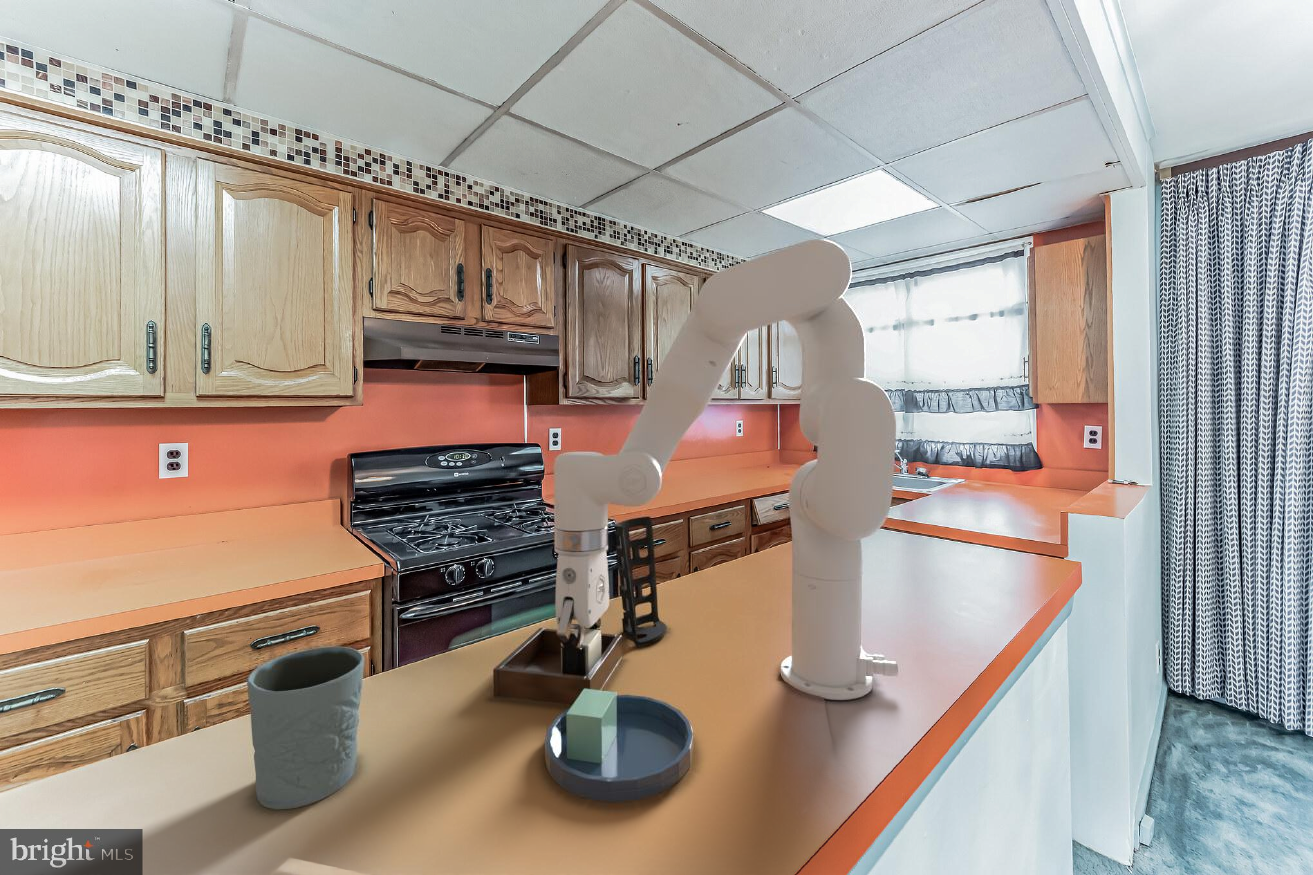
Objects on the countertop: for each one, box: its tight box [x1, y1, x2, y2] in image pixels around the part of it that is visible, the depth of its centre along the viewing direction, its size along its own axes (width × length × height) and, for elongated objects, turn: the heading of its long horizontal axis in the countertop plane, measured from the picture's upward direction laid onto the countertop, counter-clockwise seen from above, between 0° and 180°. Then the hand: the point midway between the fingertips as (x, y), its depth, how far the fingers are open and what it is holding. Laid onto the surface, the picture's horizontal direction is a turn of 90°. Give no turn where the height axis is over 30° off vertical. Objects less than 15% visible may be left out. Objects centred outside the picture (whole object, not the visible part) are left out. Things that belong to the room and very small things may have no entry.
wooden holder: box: [492, 627, 623, 706], centre depth 77 cm, size 14×15×4 cm
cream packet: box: [561, 629, 602, 676], centre depth 76 cm, size 4×6×5 cm
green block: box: [566, 689, 618, 764], centre depth 60 cm, size 4×6×5 cm
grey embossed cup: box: [246, 645, 365, 811], centre depth 55 cm, size 10×10×12 cm
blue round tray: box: [544, 694, 695, 803], centre depth 60 cm, size 16×16×2 cm
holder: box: [613, 516, 668, 648], centre depth 93 cm, size 11×8×20 cm
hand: (582, 663), depth 76 cm, fingers closed on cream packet, 5 cm apart
